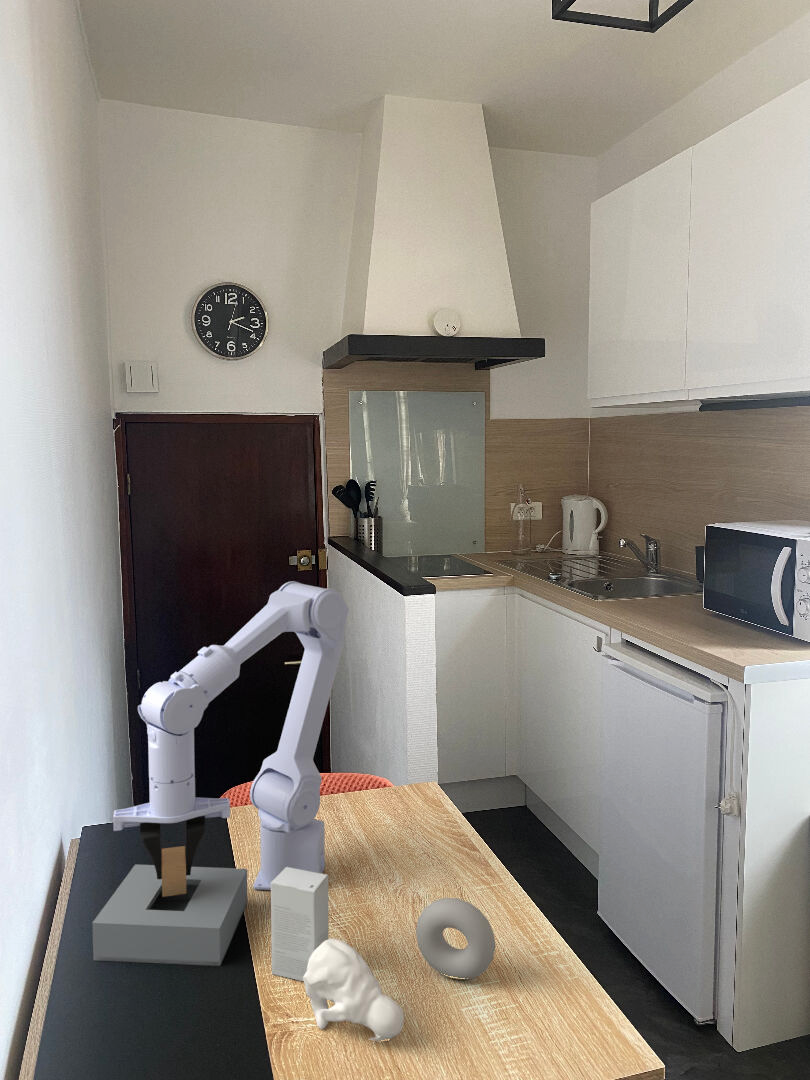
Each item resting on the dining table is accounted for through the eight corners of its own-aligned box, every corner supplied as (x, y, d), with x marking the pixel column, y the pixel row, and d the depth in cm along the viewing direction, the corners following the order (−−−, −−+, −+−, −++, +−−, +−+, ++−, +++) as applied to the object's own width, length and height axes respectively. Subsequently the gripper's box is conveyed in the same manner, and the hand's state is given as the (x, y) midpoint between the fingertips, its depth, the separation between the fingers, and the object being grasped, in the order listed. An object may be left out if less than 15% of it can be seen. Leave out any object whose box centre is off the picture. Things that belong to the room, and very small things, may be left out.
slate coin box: (247, 902, 114) (247, 868, 113) (220, 965, 100) (219, 928, 99) (136, 897, 114) (135, 864, 114) (93, 960, 100) (92, 922, 100)
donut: (411, 974, 99) (412, 898, 97) (420, 958, 102) (422, 884, 101) (490, 996, 95) (492, 917, 94) (497, 978, 98) (500, 901, 97)
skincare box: (329, 964, 100) (330, 874, 99) (315, 986, 96) (315, 892, 95) (286, 954, 102) (285, 865, 101) (269, 974, 98) (269, 882, 97)
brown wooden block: (185, 873, 109) (184, 845, 109) (186, 893, 104) (185, 864, 104) (162, 876, 108) (161, 848, 108) (162, 896, 104) (161, 867, 103)
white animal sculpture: (334, 921, 95) (421, 967, 88) (328, 985, 96) (413, 1035, 90) (299, 949, 89) (389, 1000, 83) (294, 1017, 91) (381, 1072, 84)
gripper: (226, 757, 110) (227, 851, 112) (114, 768, 106) (117, 865, 108) (230, 778, 104) (232, 877, 105) (111, 790, 99) (114, 893, 101)
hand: (174, 873), depth 106 cm, fingers closed on brown wooden block, 3 cm apart
